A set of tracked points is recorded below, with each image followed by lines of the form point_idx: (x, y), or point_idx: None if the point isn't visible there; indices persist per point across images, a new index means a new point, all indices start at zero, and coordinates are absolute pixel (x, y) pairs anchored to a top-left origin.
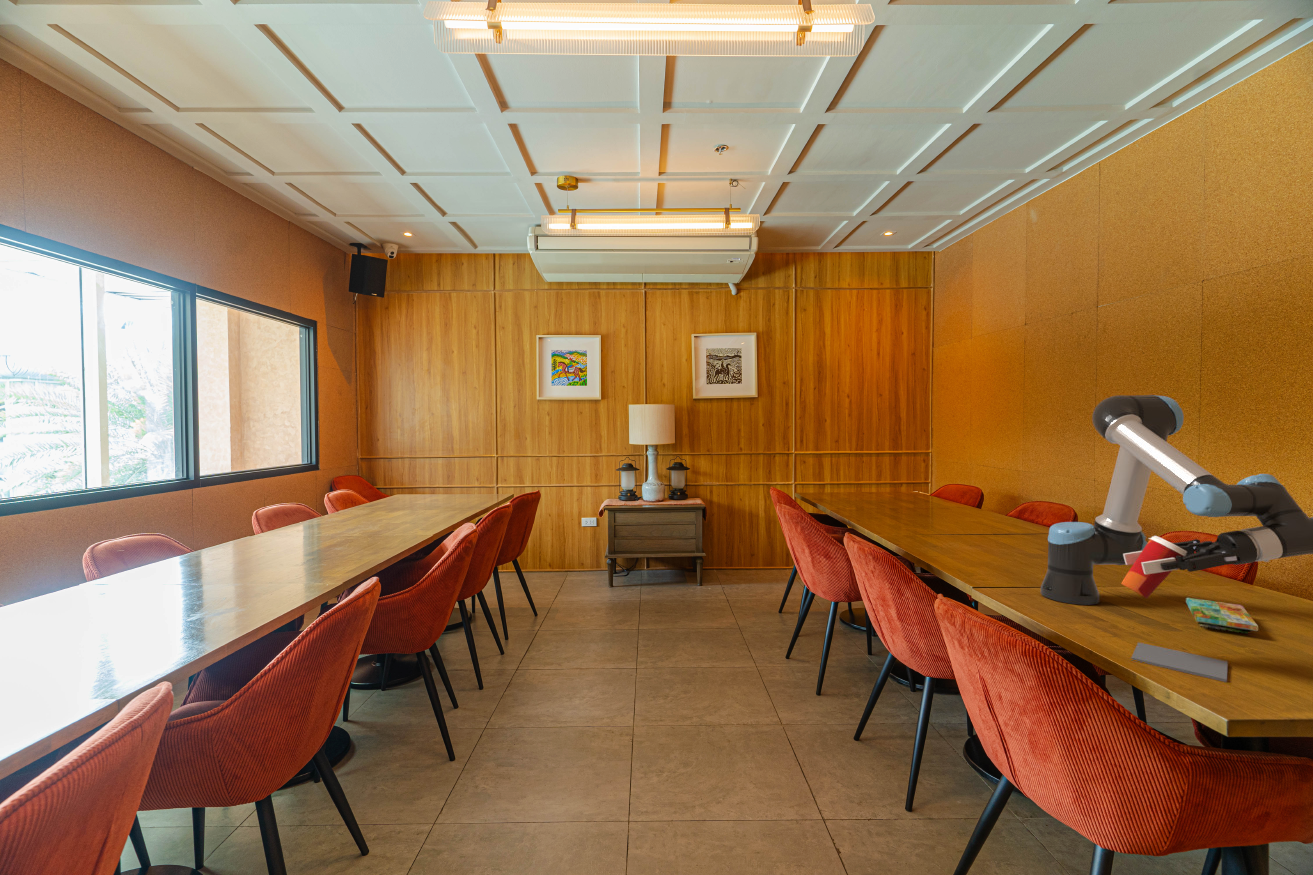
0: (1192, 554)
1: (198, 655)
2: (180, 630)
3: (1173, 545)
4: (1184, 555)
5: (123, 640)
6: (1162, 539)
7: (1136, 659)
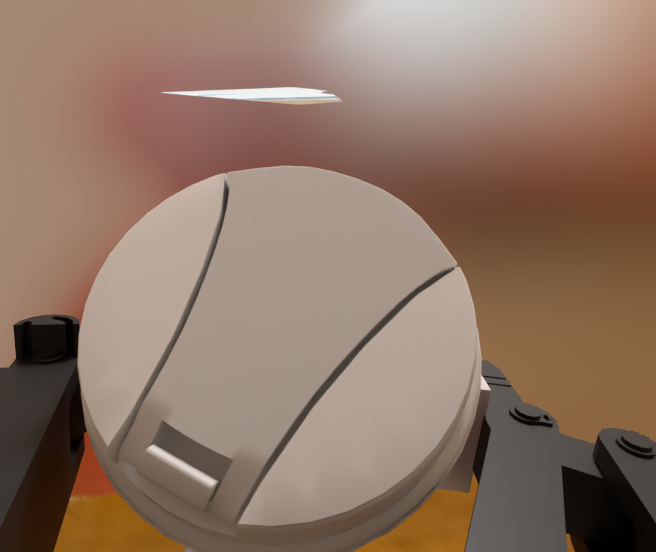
0: (1, 472)
1: (241, 99)
2: (271, 97)
3: (125, 245)
4: (86, 421)
5: (258, 94)
6: (219, 179)
7: (186, 550)
